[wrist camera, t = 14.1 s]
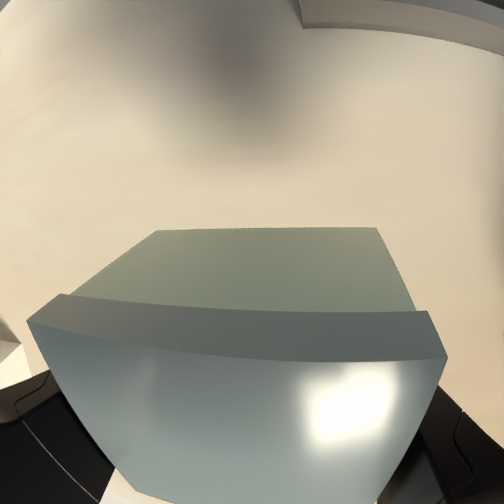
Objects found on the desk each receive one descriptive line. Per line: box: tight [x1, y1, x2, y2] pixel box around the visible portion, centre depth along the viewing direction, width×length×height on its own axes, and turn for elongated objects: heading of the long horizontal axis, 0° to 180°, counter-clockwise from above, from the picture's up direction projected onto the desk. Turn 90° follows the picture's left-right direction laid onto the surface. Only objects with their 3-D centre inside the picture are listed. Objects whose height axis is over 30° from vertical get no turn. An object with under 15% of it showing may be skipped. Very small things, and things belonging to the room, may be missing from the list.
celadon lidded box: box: [26, 228, 448, 504], centre depth 7 cm, size 6×6×5 cm
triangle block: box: [0, 340, 32, 389], centre depth 37 cm, size 30×26×6 cm
